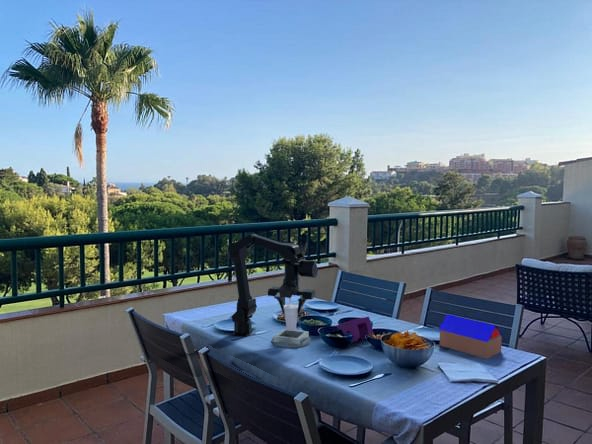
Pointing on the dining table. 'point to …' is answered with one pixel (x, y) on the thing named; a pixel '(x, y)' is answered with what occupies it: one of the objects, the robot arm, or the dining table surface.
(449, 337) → the house
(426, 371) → the dining table surface
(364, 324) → the mounting bracket
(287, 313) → the smoothie
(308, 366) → the dining table surface
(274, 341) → the disk with square socket
